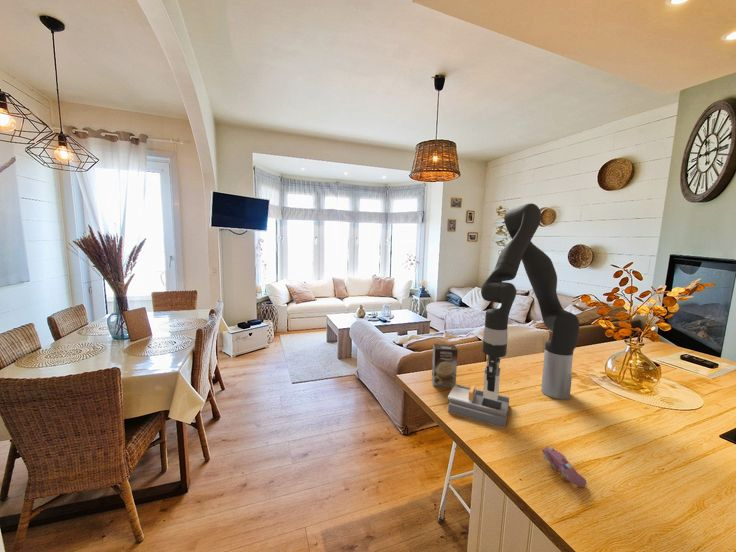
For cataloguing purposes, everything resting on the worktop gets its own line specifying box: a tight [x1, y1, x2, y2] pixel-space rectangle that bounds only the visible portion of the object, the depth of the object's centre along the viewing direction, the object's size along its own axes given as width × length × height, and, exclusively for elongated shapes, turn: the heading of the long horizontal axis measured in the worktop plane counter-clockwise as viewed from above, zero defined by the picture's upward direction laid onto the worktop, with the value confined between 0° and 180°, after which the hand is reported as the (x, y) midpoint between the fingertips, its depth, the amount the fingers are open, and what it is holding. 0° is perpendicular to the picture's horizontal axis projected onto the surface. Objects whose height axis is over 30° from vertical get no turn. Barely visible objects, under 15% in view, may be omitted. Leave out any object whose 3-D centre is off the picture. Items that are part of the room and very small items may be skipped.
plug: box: [482, 365, 501, 401], centre depth 103 cm, size 4×4×10 cm
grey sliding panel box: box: [447, 384, 510, 429], centre depth 105 cm, size 18×15×4 cm
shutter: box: [447, 384, 476, 403], centre depth 108 cm, size 8×9×4 cm
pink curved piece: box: [541, 446, 587, 488], centre depth 76 cm, size 10×5×7 cm, turn 8°
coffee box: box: [431, 343, 459, 388], centre depth 123 cm, size 9×6×16 cm
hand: (491, 387), depth 103 cm, fingers closed on plug, 4 cm apart
